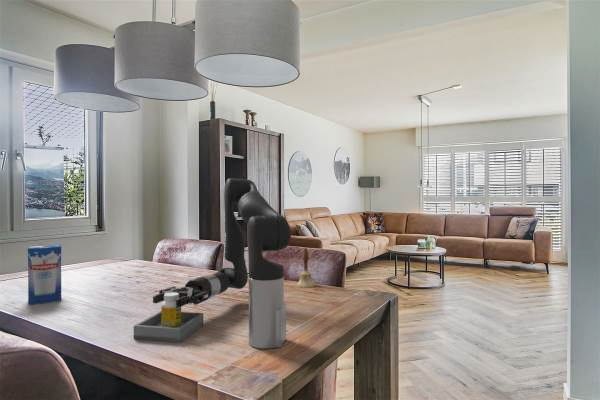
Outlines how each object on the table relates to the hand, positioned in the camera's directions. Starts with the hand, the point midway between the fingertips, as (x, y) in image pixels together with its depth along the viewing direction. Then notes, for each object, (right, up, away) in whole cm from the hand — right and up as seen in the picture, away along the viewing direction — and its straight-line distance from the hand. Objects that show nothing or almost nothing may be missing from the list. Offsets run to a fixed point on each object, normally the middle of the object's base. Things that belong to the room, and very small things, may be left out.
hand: (165, 301), depth 102 cm
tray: (+1, -9, +2) cm, 9 cm away
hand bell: (+40, -9, +56) cm, 70 cm away
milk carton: (-56, -9, +33) cm, 66 cm away
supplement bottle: (+1, -8, +2) cm, 8 cm away
